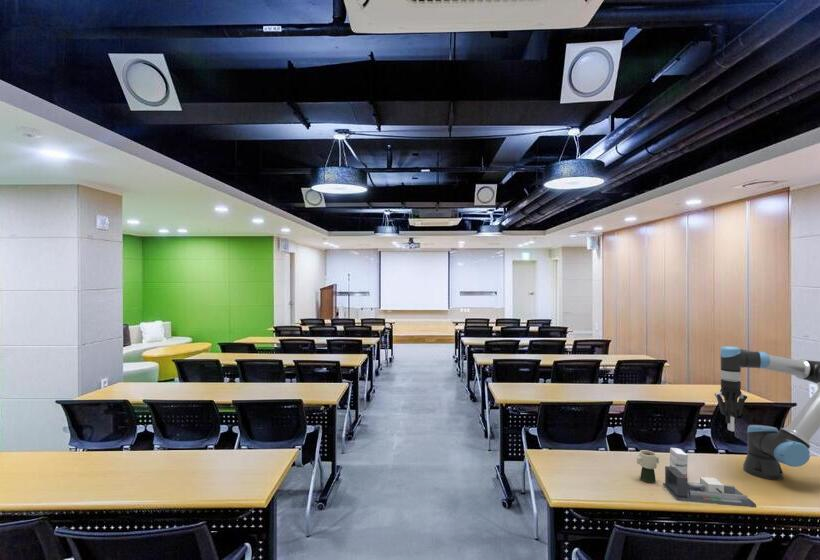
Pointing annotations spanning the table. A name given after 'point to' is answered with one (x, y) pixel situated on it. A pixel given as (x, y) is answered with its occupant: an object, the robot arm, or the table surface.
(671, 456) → the ink box
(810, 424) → the robot arm
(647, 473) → the character mug
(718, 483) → the gauge carriage
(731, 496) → the gauge bed
